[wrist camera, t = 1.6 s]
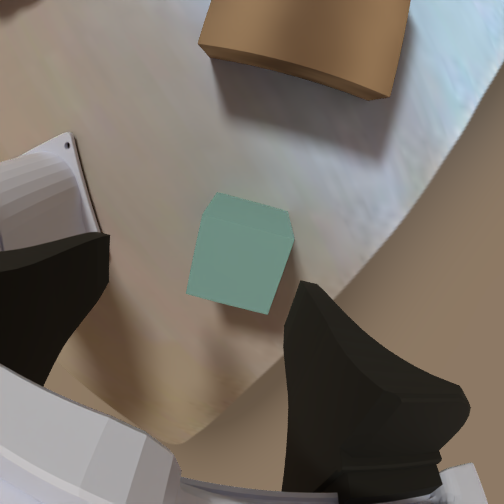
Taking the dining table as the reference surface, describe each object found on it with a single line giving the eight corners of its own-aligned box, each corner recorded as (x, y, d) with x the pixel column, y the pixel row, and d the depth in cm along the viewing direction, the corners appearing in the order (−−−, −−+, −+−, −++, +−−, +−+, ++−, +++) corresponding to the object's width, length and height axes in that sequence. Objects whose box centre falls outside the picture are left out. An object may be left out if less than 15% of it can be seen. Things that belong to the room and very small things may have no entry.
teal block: (287, 211, 20) (294, 239, 15) (267, 273, 22) (267, 314, 17) (217, 191, 19) (202, 214, 15) (202, 256, 21) (185, 293, 17)
